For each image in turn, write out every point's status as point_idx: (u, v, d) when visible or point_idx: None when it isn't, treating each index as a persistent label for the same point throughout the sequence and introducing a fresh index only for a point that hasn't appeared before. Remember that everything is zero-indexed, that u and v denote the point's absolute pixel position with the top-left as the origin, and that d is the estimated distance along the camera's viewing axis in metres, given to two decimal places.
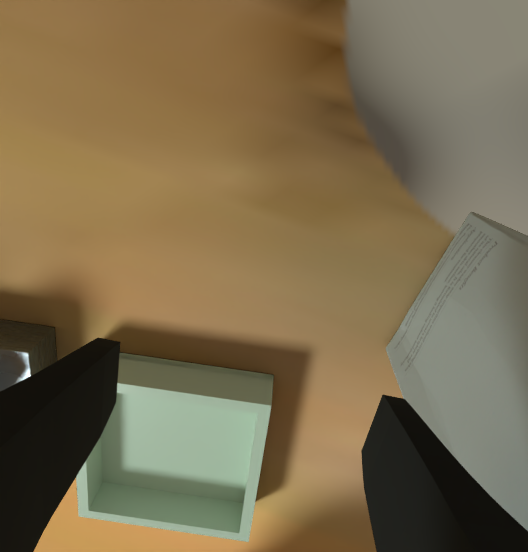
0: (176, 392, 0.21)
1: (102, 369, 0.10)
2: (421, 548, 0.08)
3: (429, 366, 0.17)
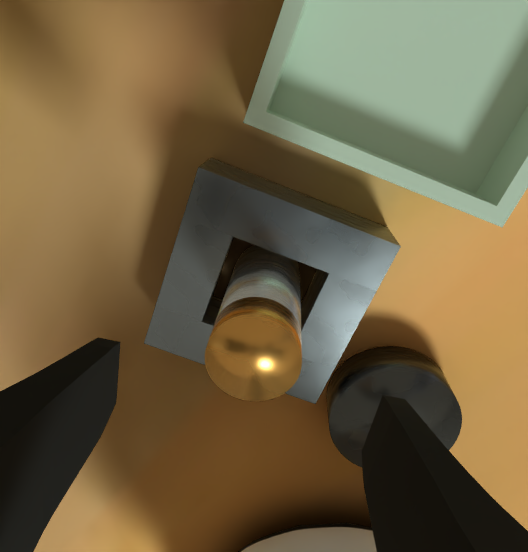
0: None
1: (102, 369, 0.10)
2: (421, 548, 0.08)
3: None
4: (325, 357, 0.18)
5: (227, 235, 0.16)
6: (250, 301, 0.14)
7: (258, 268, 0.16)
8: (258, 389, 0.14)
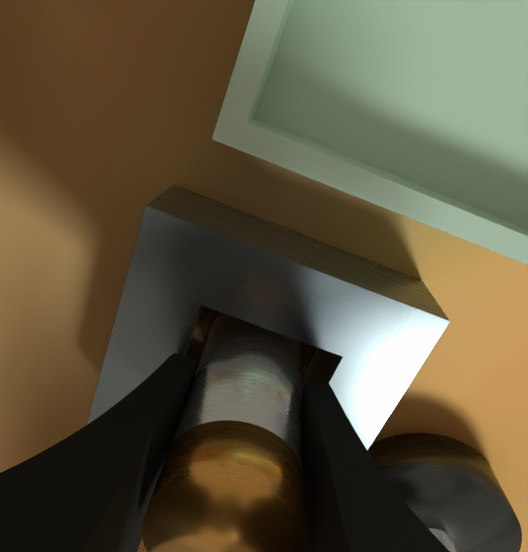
0: None
1: (186, 386, 0.10)
2: (315, 527, 0.08)
3: None
4: None
5: (192, 304, 0.11)
6: (220, 431, 0.08)
7: (239, 353, 0.11)
8: None
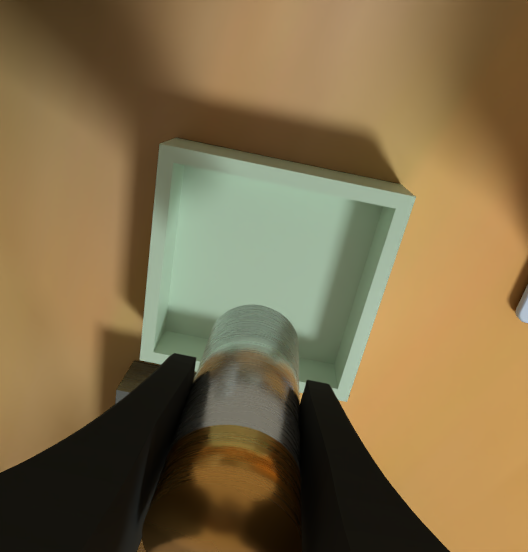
0: (149, 256, 0.18)
1: (186, 386, 0.10)
2: (315, 527, 0.08)
3: None
4: None
5: None
6: (221, 436, 0.09)
7: (239, 356, 0.11)
8: None
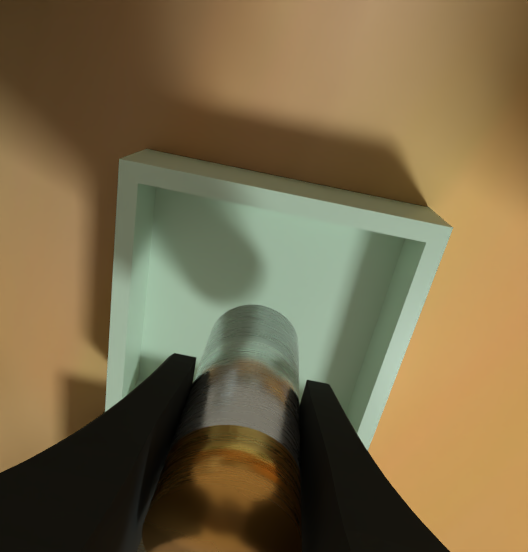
0: (112, 299, 0.14)
1: (186, 386, 0.10)
2: (315, 528, 0.08)
3: None
4: None
5: None
6: (221, 436, 0.09)
7: (239, 357, 0.11)
8: None
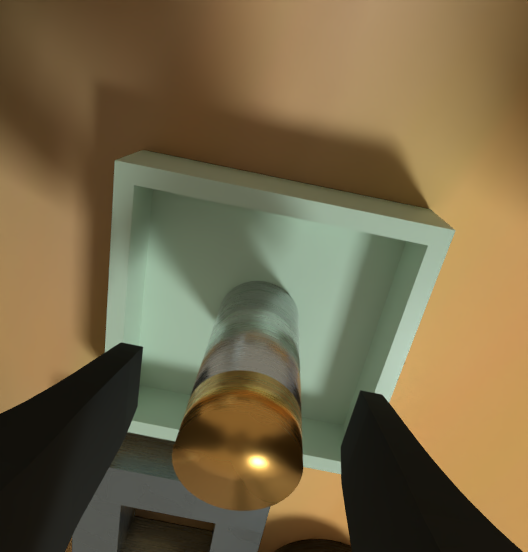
0: (108, 303, 0.14)
1: (127, 374, 0.10)
2: (390, 542, 0.08)
3: None
4: None
5: (115, 505, 0.18)
6: (235, 378, 0.10)
7: (248, 321, 0.13)
8: (243, 497, 0.10)
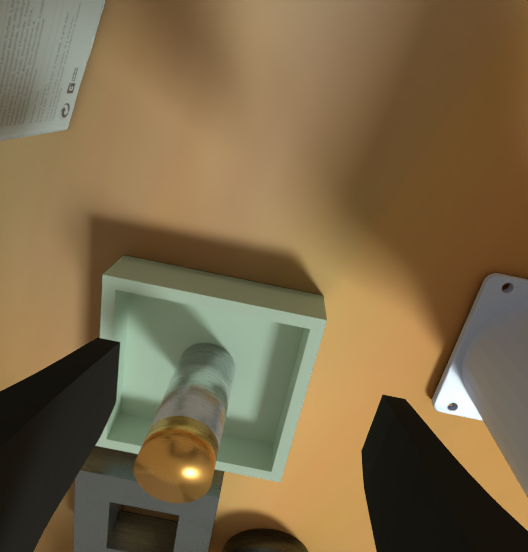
0: None
1: (102, 369, 0.10)
2: (421, 548, 0.08)
3: None
4: None
5: (105, 502, 0.24)
6: (174, 421, 0.17)
7: (191, 378, 0.19)
8: (178, 494, 0.17)
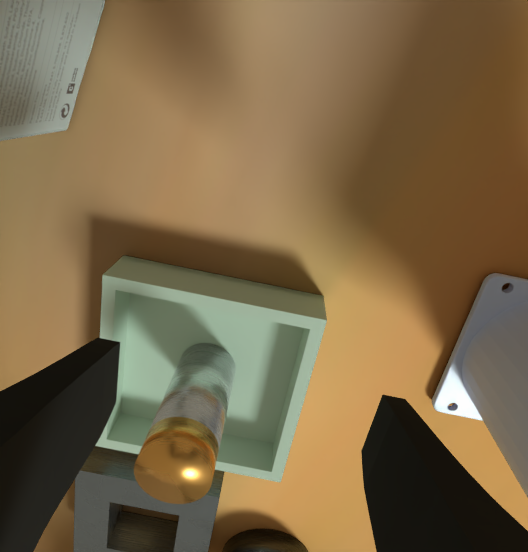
0: None
1: (102, 369, 0.10)
2: (421, 548, 0.08)
3: None
4: None
5: (106, 502, 0.24)
6: (174, 422, 0.17)
7: (191, 378, 0.19)
8: (178, 495, 0.17)
